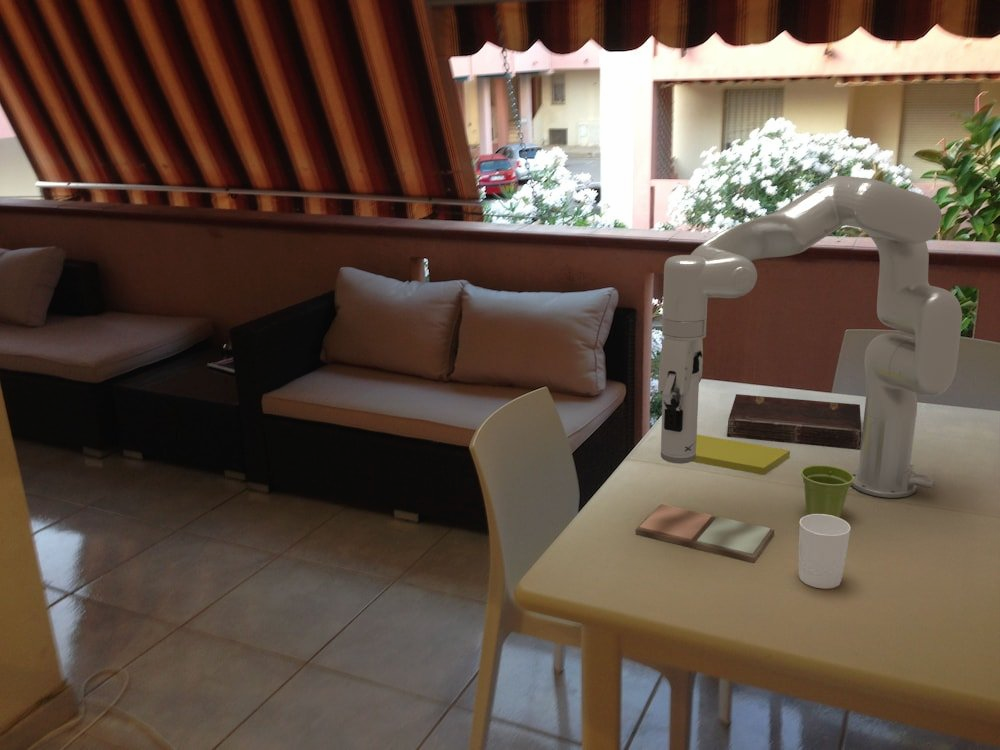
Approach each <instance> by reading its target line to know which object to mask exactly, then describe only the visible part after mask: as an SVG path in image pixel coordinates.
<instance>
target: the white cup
mask: <svg viewBox="0 0 1000 750" xmlns="http://www.w3.org/2000/svg"><path fill="white" fill-rule="evenodd" d="M798 523H799V525H798V527H799V529H798V530H799V532H798V577H799V580H800V581H802V582H803V583H804V584H805V585H806V586H810V587H812V588H817V589H824V590H827V589H834V588H837V587H839V586H840V585H841V583H842V580H843V574H844V573H843V572H844V569H845V567H846V566H845V564H846V559H847V554H848V548H849V543H850V542H849V539H850V533H851V529H852V527H851V525H850V524H849V522H847V520H845V519H843V518H841V517H840V518H838V517H835V516H832V515H826V514H811V515H807V514H806V515H804V516H802V517H801V518H800V520H799V522H798Z"/></svg>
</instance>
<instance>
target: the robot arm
mask: <svg viewBox="0 0 1000 750" xmlns="http://www.w3.org/2000/svg"><path fill="white" fill-rule="evenodd" d="M942 219H943V216H942V210H941V208H940V206H939V204H938V203H937V202H936V200H934V199H933V198H932V197H929V196H928V195H924V194H920V193H918V192H915V191H912V190H909V189H905V188H901V187H899V186H896V185H894V184H890V183H887V182H884V181H882V180H879V179H878V180H877V179H874V178H867V177H866V178H865V177H858V176H857V177H856V176H849V175H837V176H832V177H830V178H828V179H827V180H824V181H822V182H821V183H819V184H817V185H816V186H815V187H813V188H812V189H810V190H809V191H807V192H805V193H803V194H802V195H801V196H799V197H797V198H795V199H794V200H793V201H792V202H790V203H787V204H786V205H784V206H783V207H782V208H780V209H778V210H776V211H774V212H772V213H769V214H765V215H763V216H758V217H756V218H755V219H752V220H748V221H745V222H742V223H739V224H737V225H733V226H731V227H729V228H727V229H725V230H723V231H721V232H719V233H718V234H715V235H713V237H711V238H709V239H708V240H705V242H702V244H700V245H699V246H697V247H696V248H695V249H694V250H693V251H691V253H690V254H679V255H674V256H670V257H669V258H667V260H665V262H664V268H663V292H662V293H663V295H662V300H663V301H662V326H661V327H662V328H661V336H662V337H663V340H662V345H661V350H660V358H659V368H658V382H657V389H658V392H659V393H662V394H661V397H662V398H663V400H664V409H665V415H664V429H665V430H670V431H676V432H681V431H682V424H683V410H681V406H682V401H683V395H684V394H686V393H687V392H688V391H689V387H690V382H691V378H692V377H691V376H692V371H693V359H694V357H695V356H697V355H698V354H697V353H698V352H700V351H701V352H702V357H700V356H699V358H698V359H699V384H700V383H701V381H702V376H703V365H704V364H703V363H704V359H703V358H704V355H703V354H704V352H703V351H704V347H703V345H704V344H703V339H705V338H706V337H707V321H708V319H707V317H708V299H710V298H722V299H736V298H740V297H743V296H745V295H747V294H749V293H750V292H751V291H752V290H753V289H754V287H755V285H756V283H757V280H758V272H757V268H756V266H755V264H754V263H753V261H756V260H761V259H767V258H781V257H788V256H789V257H790V256H794V255H798V254H800V253H801V254H802V253H803V252H805V251H806V250H808V249H809V248H810V247H812V246H814V245H815V244H817V243H818V242H820V241H821V240H823V239H824V238H826V237H828V236H829V235H831V234H832V233H834V232H836V231H838V230H839V229H841V228H842V227H846V226H847V227H853V228H858V229H860V230H861V231H863V232H864V233H865V234H866V235H868V237H870V238H871V240H872V241H873V243H874V244H875V246H876V248H877V251H878V252H877V253H878V255H879V273H878V274H879V275H878V285H877V286H878V287H877V298H876V299H877V300H876V314H877V318H878V320H879V321H880V322H881V323H882V324H883V325H884V326H887V327H889V328H891V329H894V330H896V331H897V330H898V331H900V332H904V333H906V334H910V335H913V336H915V337H911V336H909V335H904V334H901V333H896V332H887V333H881V334H879V335H877V336H875V337H874V338H873V339H872V340H871V341H870V342H869V343H868V345H867V347H866V349H865V352H864V361H863V363H864V372H865V374H864V375H865V385H866V386H865V387H866V388H865V391H866V392H865V403H864V405H865V406H864V413H863V422H862V430H861V431H862V433H861V444H860V450H859V451H860V452H859V460H858V461H859V462H858V469H857V470H855V471H853V472H851V474H852V475H853V476H854V480H853V482H852V483H851V485H850V486H852V487H853V488H854V489H855V490H857V491H859V492H861V493H864V494H867V495H870V496H873V497H878V498H886V499H887V498H889V499H895V498H896V499H897V498H905V497H909V496H912V495H913V494H914V493H915V492H916V490H917V486H918V487H921V488H926V489H933V484H934V479H933V478H930V477H929V474H926V473H918V472H916V470H914V465H913V464H912V463H911V460H912V453H913V445H914V436H915V435H914V434H915V429H916V427H915V426H916V421H917V420H916V419H917V413H918V397H917V394H919V395H922V396H927V397H935V396H939V395H941V394H943V393H944V392H946V391H947V390H948V389H949V387H951V385H952V383H953V381H954V379H955V376H956V372H957V368H958V367H957V366H958V361H959V352H960V350H959V349H960V340H961V333H962V324H963V323H962V322H963V311H962V307H961V303H960V301H959V300H958V298H957V297H956V296H955V294H953V292H951V291H949V290H947V289H945V288H943V287H942V288H941V287H939V286H933V285H930V283H929V265H930V264H929V263H930V262H929V261H930V254H929V248H928V245H927V242H929V241H930V240H931V239H933V238H934V236H936V234H937V233H938V232H939V230H940V227H941V224H942V221H943V220H942ZM674 388H678V389H680V391H679V393H678V392H673V390H674ZM672 395H673V396H678V400H677V402H676V400H675V399H674V398H673V396H672ZM662 398H661V399H662Z"/></svg>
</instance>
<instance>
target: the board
mask: <svg viewBox="0 0 1000 750" xmlns="http://www.w3.org/2000/svg"><path fill="white" fill-rule="evenodd" d="M635 535H638V536H642V537H646V538H650V539H654V540H658V541H663V542H666V543H671V544H675V545H678V546H683V547H688V548H692V549H696V550H700V551H704V552H708V553H712V554H715V555H720V556H725V557H727V558H733V559H736V560H741V561H745V562H748V563H753V564H754V563H755V562H756V561H757V559H758V558H759V557H760V555H761V554H762V552H763V551H764V550H765V548H766V547H767V545H768V544H769V543H770V540H772V538H773V537H774V535H775V529H771V527H766V526H762V525H758V524H753V523H748V522H743V521H739V520H736V519H731V518H726V517H720V516H714V515H712V514H707V513H703V512H699V511H694V510H690V509H685V508H679V507H678V506H677V507H676V506H673V505H668V504H659V505H658V506H657V507H656V508H655V509H654V510H653V512H651V513H650V514H649V516H647V518H646V519H644V520H643V521H642V522H641V524H639V525H638V526H637V527H636V528H635Z"/></svg>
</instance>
